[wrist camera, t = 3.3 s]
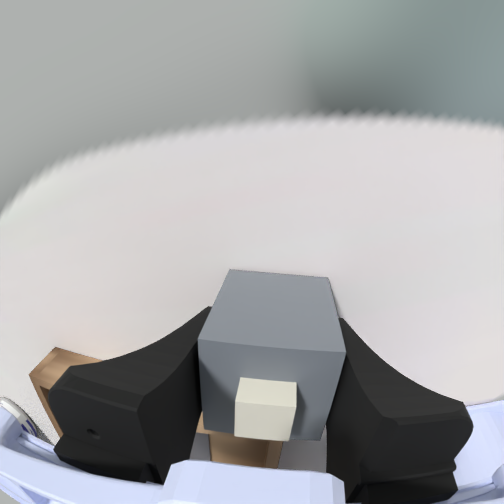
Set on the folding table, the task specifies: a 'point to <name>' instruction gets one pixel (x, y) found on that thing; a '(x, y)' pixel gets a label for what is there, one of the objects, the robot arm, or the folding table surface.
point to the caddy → (205, 441)
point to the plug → (270, 356)
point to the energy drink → (19, 415)
